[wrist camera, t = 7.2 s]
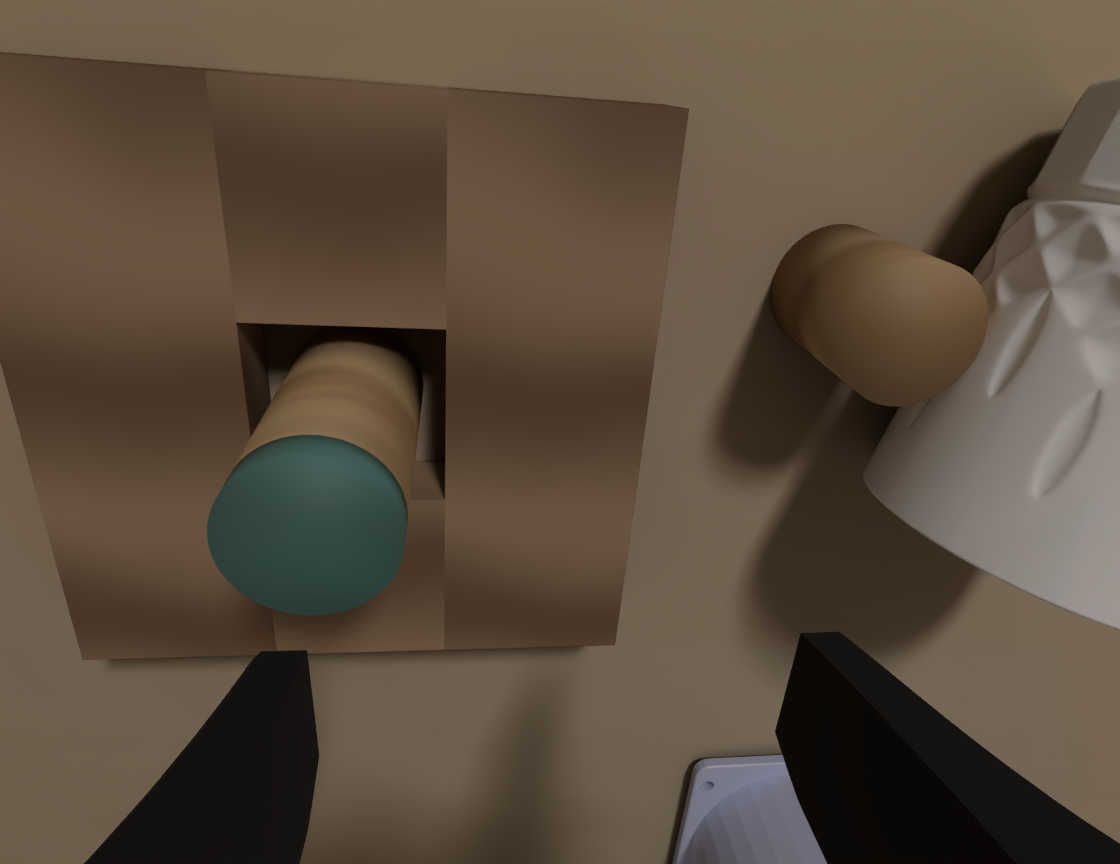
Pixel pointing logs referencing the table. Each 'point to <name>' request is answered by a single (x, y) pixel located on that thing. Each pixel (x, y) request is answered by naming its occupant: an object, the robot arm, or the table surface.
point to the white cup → (1033, 392)
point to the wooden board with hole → (331, 300)
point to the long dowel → (325, 478)
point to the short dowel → (879, 313)
